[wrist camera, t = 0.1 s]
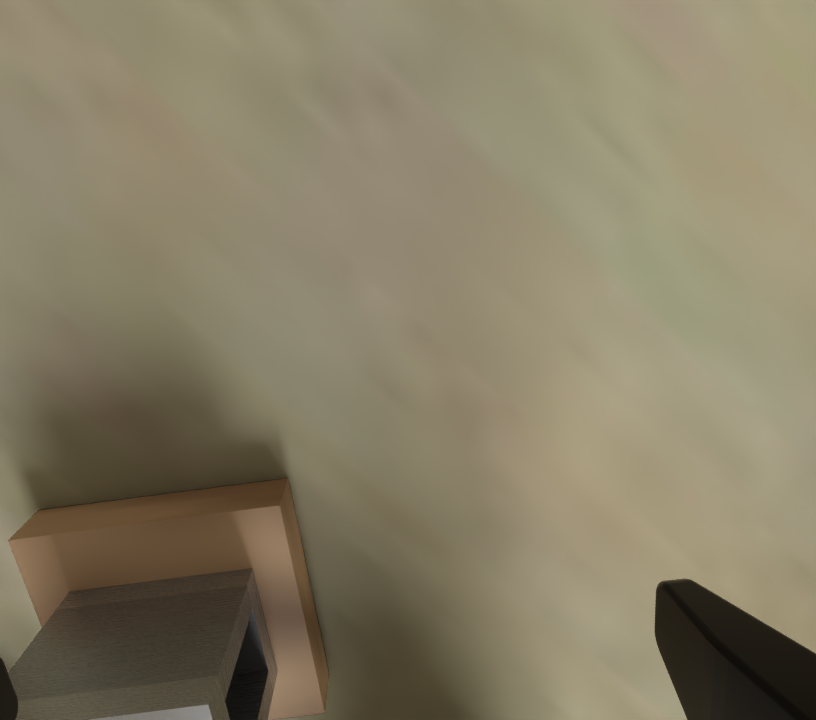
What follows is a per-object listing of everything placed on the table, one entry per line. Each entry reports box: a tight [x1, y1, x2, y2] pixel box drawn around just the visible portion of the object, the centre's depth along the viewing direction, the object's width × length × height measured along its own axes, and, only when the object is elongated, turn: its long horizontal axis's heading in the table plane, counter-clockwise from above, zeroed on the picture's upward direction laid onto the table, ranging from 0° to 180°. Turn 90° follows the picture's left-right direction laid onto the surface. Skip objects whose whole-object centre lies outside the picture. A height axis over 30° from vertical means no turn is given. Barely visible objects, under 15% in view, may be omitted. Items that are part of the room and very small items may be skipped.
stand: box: [8, 478, 329, 720], centre depth 24 cm, size 10×10×2 cm
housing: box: [8, 568, 278, 720], centre depth 20 cm, size 5×7×6 cm
